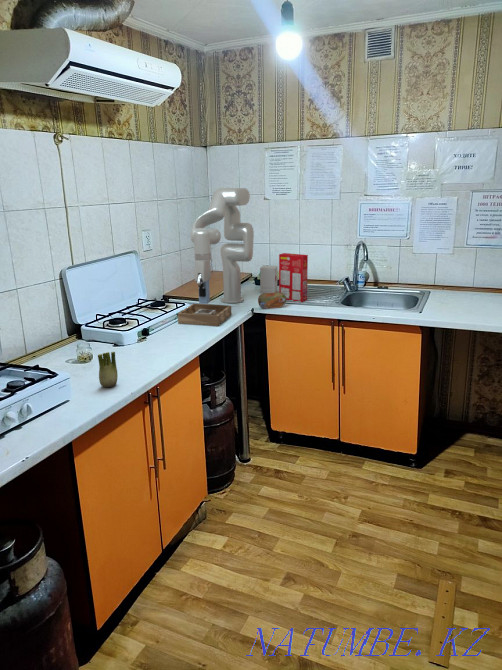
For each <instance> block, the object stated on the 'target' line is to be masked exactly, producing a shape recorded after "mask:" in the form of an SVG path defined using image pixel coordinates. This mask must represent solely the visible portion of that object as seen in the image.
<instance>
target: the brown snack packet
mask: <svg viewBox="0 0 502 670" xmlns="http://www.w3.org/2000/svg"><path fill="white" fill-rule="evenodd" d="M257 303H258V305H259V307H260V308H261V309H263V310H270V309H271V310H272V309H280V308H283V307H284V306H285V305H286V303H287V300H286V296H285V294H283V293H282V292H279V291H276V292H270V293H260V295H259V296H258V299H257Z"/></svg>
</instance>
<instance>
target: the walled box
mask: <svg viewBox="0 0 502 670" xmlns="http://www.w3.org/2000/svg"><path fill="white" fill-rule="evenodd" d="M187 307H188V308H187ZM187 307H185V308H183V310H181V311H180V312H178V313H177V324H178V325H191V326H192V325H193V326H205V327H206V326H207V327H219V326H221V325H222V324H223V323H224V322H226V321H227V320H228V319H229V318H230V317H232V305H229V304H211V303H208V304H201V303H192V304H190V305H189V306H187Z"/></svg>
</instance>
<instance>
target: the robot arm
mask: <svg viewBox="0 0 502 670" xmlns="http://www.w3.org/2000/svg"><path fill="white" fill-rule="evenodd" d="M250 195H251V194H250V192H249V190H248V189H247V188H245V187H228V188H227V187H226V188H221V187H220V188H217V189H216V190H215V191H214V192H213V195H212V197H211V200H210V204H209V207H208V210H206V211H204V212H203V213H201V215H199V216H198V217H197V218H196V220H195V221H194V223H193V224H192V228H191V230H190V231H191V232H190V240H191V242H192V243H193V247H194V248H193V249H194V261H195V263H194V282H195V283H196V284H197V286H199V288H198V297H199V296H200V297H206V288H205V282H206V281H207V280H209V281H210V280H211V278H212V268H211V267H212V266H211V260H212V255H211V252H212V251H211V245H217V244H219V243H220V241H221V238H222V237H221V236H222V235H221V232H220V231H219V229H217V228H209V227H208V226H210V225H213V224H215V223H218V222H220V221H222V220H223V237H224V238H225V240H226V241H231V242H227V243H223V245H222V246H221V247H220V256H221V257H220V258H221V262H222V263H221V264H222V277H223V279H222V280H223V281H222V284H223V297H222V298H220V301H221V302H222V303H224V304H225V303H226V304H238V303H242V302H243V303H244V301H245V298H244V297H242V285H241V284H242V283H241V282H242V281H241V278H242V277H241V267H240V265H239V264H238V262H242V263H243V262H251V261H252V259H253V257H254V256H253V255H254V240H255V239H254V237H255V236H254V233H255V232H254V226H253V225H252V224H251V223H249V222H241V213H240V210H239V208H238V207H237V206H239V207H240V206H242V207H243V206H247V205H248V204H249V202H250V199H251V198H250V197H251V196H250ZM206 227H208V228H206ZM232 241H234V242H235V243H234V242H232ZM238 241H239V242H243V243H238ZM236 242H237V243H236ZM201 280H202V281H203V282H201ZM201 283H203V284H201Z"/></svg>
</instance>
